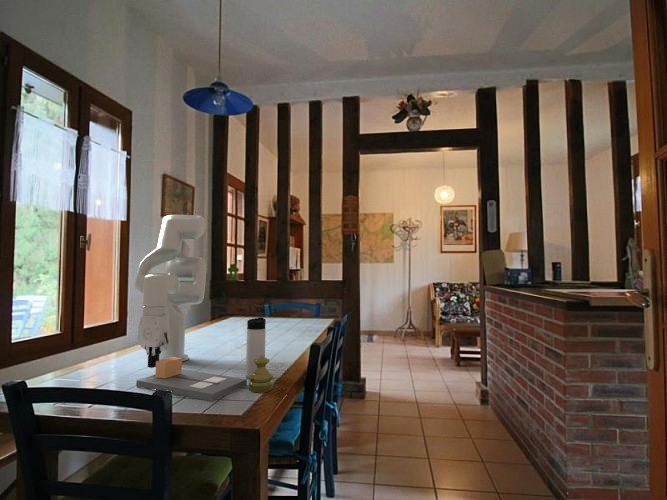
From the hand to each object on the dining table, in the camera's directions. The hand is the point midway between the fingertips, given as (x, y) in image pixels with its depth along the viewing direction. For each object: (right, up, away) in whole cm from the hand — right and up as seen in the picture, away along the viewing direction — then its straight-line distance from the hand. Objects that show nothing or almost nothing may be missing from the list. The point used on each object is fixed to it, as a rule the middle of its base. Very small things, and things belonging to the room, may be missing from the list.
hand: (153, 366), depth 129 cm
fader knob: (+6, -2, -3) cm, 7 cm away
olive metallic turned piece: (+38, -4, -9) cm, 39 cm away
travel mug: (+33, -5, +4) cm, 34 cm away
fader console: (+15, -4, -7) cm, 17 cm away
